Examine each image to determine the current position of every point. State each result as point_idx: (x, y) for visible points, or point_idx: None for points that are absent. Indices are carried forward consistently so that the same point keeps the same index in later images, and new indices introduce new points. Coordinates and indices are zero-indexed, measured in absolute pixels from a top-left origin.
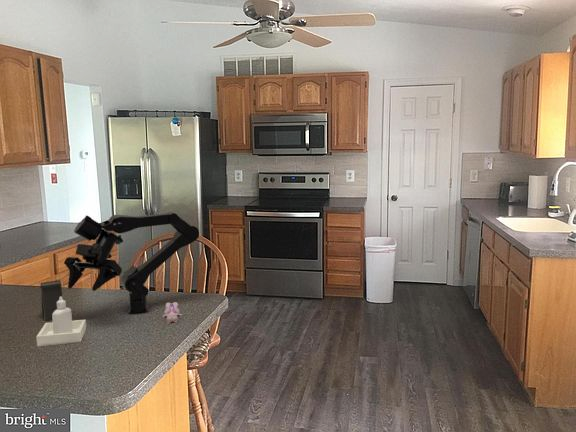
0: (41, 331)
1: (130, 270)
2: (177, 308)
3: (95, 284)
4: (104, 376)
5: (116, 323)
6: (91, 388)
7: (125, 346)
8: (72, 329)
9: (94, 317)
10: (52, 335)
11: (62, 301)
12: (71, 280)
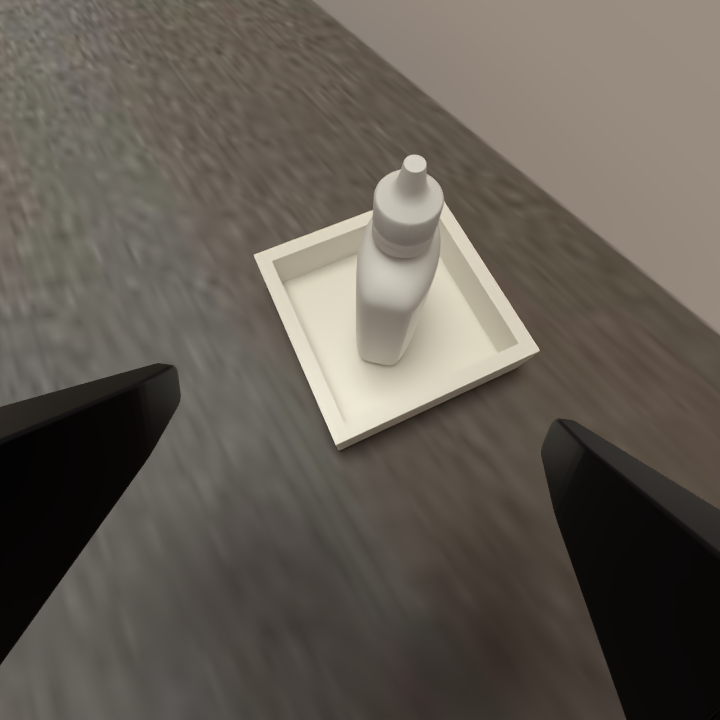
0: (460, 241)
1: None
2: None
3: (98, 382)
4: (44, 68)
5: (198, 573)
6: (59, 16)
7: (38, 272)
8: (358, 348)
9: (409, 674)
10: (371, 212)
11: (385, 180)
12: (612, 482)
